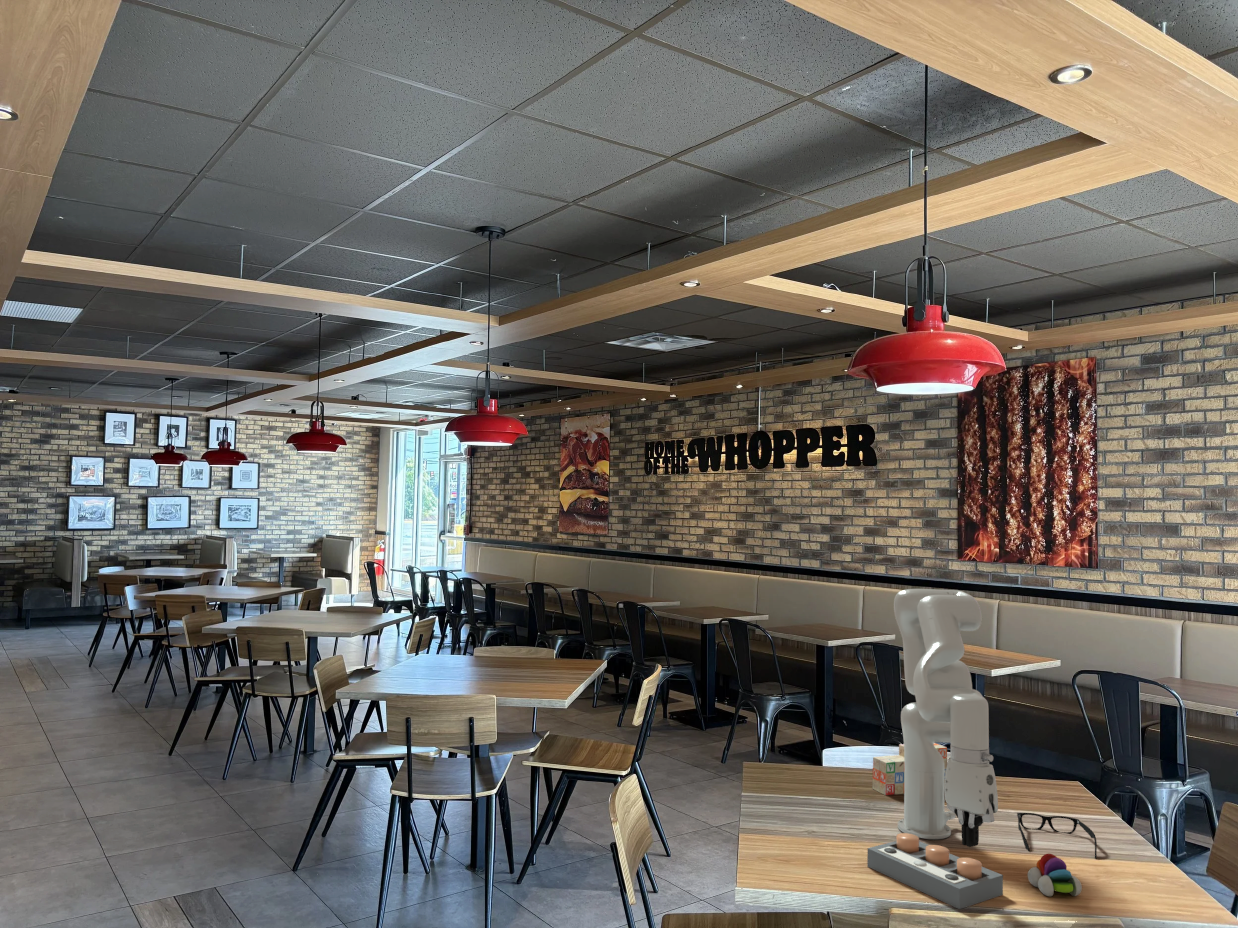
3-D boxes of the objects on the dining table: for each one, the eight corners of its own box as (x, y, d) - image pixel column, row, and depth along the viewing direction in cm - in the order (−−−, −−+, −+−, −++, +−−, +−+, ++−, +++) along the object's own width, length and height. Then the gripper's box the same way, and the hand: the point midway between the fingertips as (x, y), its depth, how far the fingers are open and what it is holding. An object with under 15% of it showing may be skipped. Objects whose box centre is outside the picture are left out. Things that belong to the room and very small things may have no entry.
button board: (909, 854, 202) (909, 835, 202) (1002, 894, 182) (1002, 872, 182) (867, 866, 195) (867, 846, 195) (959, 909, 174) (959, 886, 174)
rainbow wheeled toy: (1061, 881, 189) (1061, 847, 190) (1087, 901, 180) (1086, 865, 180) (1023, 881, 189) (1023, 846, 189) (1046, 901, 179) (1046, 864, 180)
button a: (906, 845, 199) (906, 831, 199) (923, 852, 195) (923, 838, 195) (891, 849, 197) (892, 835, 197) (909, 856, 193) (909, 842, 193)
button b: (935, 857, 192) (935, 843, 193) (954, 865, 188) (954, 850, 188) (920, 861, 190) (920, 847, 190) (939, 869, 186) (939, 854, 186)
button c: (966, 870, 186) (966, 855, 186) (986, 878, 181) (986, 863, 182) (952, 875, 183) (952, 859, 183) (971, 883, 179) (971, 868, 179)
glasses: (1082, 838, 219) (1082, 817, 219) (1101, 861, 202) (1101, 838, 202) (1011, 830, 223) (1011, 810, 224) (1023, 852, 206) (1023, 830, 207)
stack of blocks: (885, 795, 245) (885, 751, 246) (872, 789, 251) (872, 745, 252) (947, 789, 252) (947, 746, 253) (932, 783, 258) (933, 741, 259)
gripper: (1012, 761, 179) (1013, 853, 178) (951, 745, 192) (951, 831, 190) (989, 765, 175) (990, 859, 174) (928, 749, 188) (928, 836, 186)
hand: (970, 844), depth 182 cm, fingers closed
